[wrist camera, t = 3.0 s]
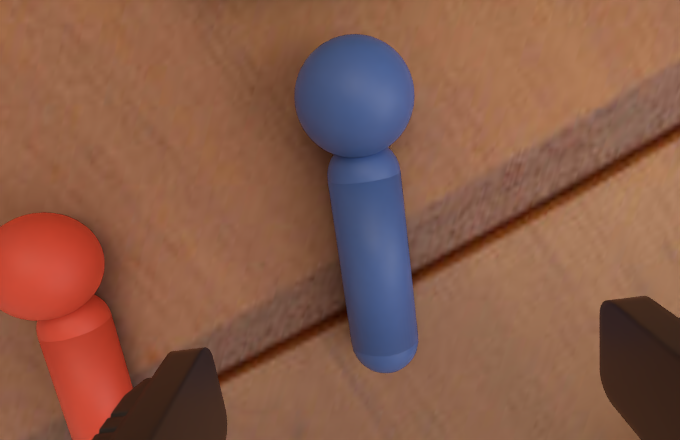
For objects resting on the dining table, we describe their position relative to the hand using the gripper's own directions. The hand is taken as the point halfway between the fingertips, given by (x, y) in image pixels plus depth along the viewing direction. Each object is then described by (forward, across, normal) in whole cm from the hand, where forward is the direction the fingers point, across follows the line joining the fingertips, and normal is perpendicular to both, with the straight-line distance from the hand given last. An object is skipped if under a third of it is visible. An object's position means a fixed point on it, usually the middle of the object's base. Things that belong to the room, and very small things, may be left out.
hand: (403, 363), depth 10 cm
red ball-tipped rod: (+8, +11, +2) cm, 14 cm away
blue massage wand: (+8, 0, -2) cm, 8 cm away
